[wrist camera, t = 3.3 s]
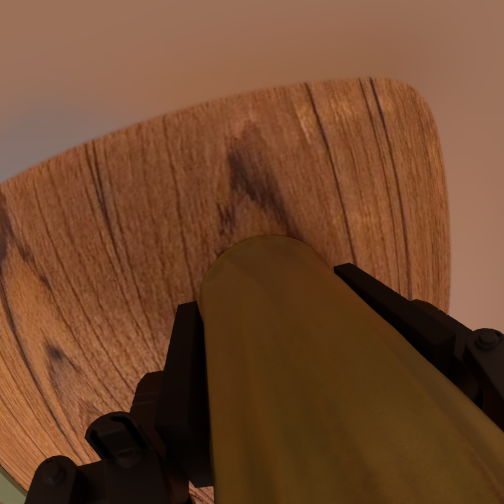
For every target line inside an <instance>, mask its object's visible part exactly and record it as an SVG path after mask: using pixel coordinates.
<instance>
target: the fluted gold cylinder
mask: <svg viewBox="0 0 504 504" xmlns="http://www.w3.org/2000/svg"><path fill="white" fill-rule="evenodd" d="M199 311H200V314H201V318H202V321H203V328H204V343H205V401H206V414H207V430H208V442H209V454H210V463H211V472H212V479H213V489H214V504H504V432H503V431H502V430H501V429H500V428H499V427H498V426H497V425H496V424H495V423H494V422H493V421H492V420H491V419H490V418H489V417H488V416H487V415H486V414H485V413H484V412H483V411H482V410H481V409H480V408H479V407H478V406H477V405H476V404H474V403H473V402H472V401H471V400H470V399H469V398H468V397H467V396H466V395H465V394H464V393H463V392H462V391H461V390H460V389H459V388H457V387H456V386H455V385H454V384H453V383H452V382H451V381H450V380H449V379H448V378H447V377H445V376H444V375H443V374H442V373H441V372H440V371H439V370H438V369H436V368H435V367H434V366H433V365H432V364H431V363H430V362H429V361H427V360H426V359H425V358H424V357H423V356H422V355H421V354H420V353H419V352H418V351H417V350H416V349H415V348H414V347H413V346H412V345H411V344H410V343H409V342H408V341H407V340H406V339H405V338H404V337H403V336H402V335H401V334H400V333H399V332H398V331H397V330H396V329H395V328H394V327H392V326H391V325H390V324H389V323H388V322H387V321H385V320H384V319H383V318H382V317H381V316H380V315H379V314H377V313H376V312H375V311H374V310H373V309H372V308H371V307H370V306H369V305H368V304H367V303H366V302H364V301H363V300H362V299H361V298H360V297H359V296H358V295H357V294H356V293H355V292H354V291H353V290H352V289H351V288H350V287H349V286H348V285H347V284H346V283H345V282H344V281H343V280H342V279H340V278H339V277H338V276H337V275H336V274H335V273H334V272H333V271H332V270H330V269H329V267H328V265H327V264H326V262H325V261H324V260H323V258H322V257H321V256H320V255H319V254H318V253H317V252H316V251H315V250H314V249H313V248H311V247H310V246H308V245H307V244H305V243H303V242H301V241H299V240H297V239H294V238H291V237H286V236H280V235H263V236H257V237H253V238H250V239H247V240H244V241H242V242H240V243H238V244H236V245H234V246H232V247H230V248H229V249H228V250H226V251H225V252H224V253H223V254H222V255H220V256H219V257H218V258H217V259H216V261H215V262H214V263H213V264H212V266H211V267H210V268H209V270H208V272H207V273H206V275H205V277H204V279H203V281H202V284H201V287H200V294H199Z"/></svg>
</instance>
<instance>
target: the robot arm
mask: <svg viewBox="0 0 504 504" xmlns="http://www.w3.org/2000/svg"><path fill="white" fill-rule="evenodd" d="M333 268H334V273H335V274H336V275H337V276H338V277H339V278H340V279H342V280H343V281H344V282H345V283H346V284H347V285H348V286H349V287H350V288H351V289H352V290H353V291H354V292H355V293H356V294H357V295H358V296H359V297H360V298H361V299H362V300H363V301H364V302H366V303H367V304H368V305H369V306H370V307H371V308H372V309H373V310H374V311H375V312H376V313H377V314H379V315H380V316H381V317H382V318H383V319H384V320H385V321H387V322H388V323H389V324H390V325H391V326H392V327H394V328H395V329H396V330H397V331H398V332H399V333H400V334H401V335H402V336H403V337H404V338H405V339H406V340H407V341H408V342H409V343H410V344H411V345H412V346H413V347H414V348H415V349H416V350H417V351H418V352H419V353H420V354H421V355H422V356H423V357H424V358H425V359H426V360H427V361H429V362H430V363H431V364H432V365H433V366H434V367H435V368H436V369H438V370H439V371H440V372H441V373H442V374H443V375H444V376H445V377H447V378H448V379H449V380H450V381H451V382H452V383H453V384H454V385H455V386H456V387H457V388H459V389H460V390H461V391H462V392H463V393H464V394H465V395H466V396H467V397H468V398H469V399H470V400H471V401H472V402H473V403H474V404H476V405H477V406H478V407H479V408H480V409H481V410H482V411H483V412H484V413H485V414H486V415H487V416H488V417H489V418H490V419H491V420H492V421H493V422H494V423H495V424H496V425H497V426H498V427H499V428H500V429H501V430H502V431H503V432H504V334H502V333H501V332H500V331H497V330H494V329H488V328H482V329H477V330H475V331H472V330H470V329H469V328H467V327H466V326H464V325H463V324H461V323H460V322H458V321H457V320H455V319H454V318H452V317H450V316H449V315H446V313H444V312H443V311H441V310H439V309H438V308H436V307H435V306H433V305H432V304H430V303H428V302H424V301H421V300H417V299H415V300H413V301H409V300H407V299H406V298H404V297H403V296H401V295H400V294H398V293H397V292H395V291H394V290H392V289H390V288H389V287H387V286H386V285H384V284H383V283H381V282H380V281H378V280H377V279H375V278H374V277H372V276H370V275H369V274H367V273H366V272H364V271H363V270H361V269H359V268H358V267H356V266H355V265H353V264H352V263H350V262H349V263H346V264H342V265H338V266H335V267H333ZM132 405H133V406H131V409H130V413H128V412H122V411H118V412H111V413H108V414H105V415H103V416H100V417H99V418H98V419H96V420H95V421H94V422H92V424H91V425H90V426H89V427H88V429H87V431H86V434H85V439H86V440H87V442H88V443H89V444H90V446H91V447H92V448H93V449H94V451H95V452H96V453H97V454H98V456H99V457H100V458H101V459H102V460H100V461H98V462H94V463H90V464H86V465H81V466H77V465H76V464H75V463H74V462H73V461H72V460H71V459H70V458H68V457H66V456H62V455H58V456H52V457H50V458H48V459H46V460H44V461H43V462H42V463H41V464H40V465H39V466H38V468H37V470H36V471H35V474H34V477H33V479H32V482H31V485H30V488H29V491H28V494H27V497H26V500H25V503H24V504H196V502H195V500H194V499H193V497H192V496H191V494H190V493H189V480H190V481H191V483H192V484H193V485H194V487H195V488H200V487H209V486H213V479H212V472H211V463H210V454H209V442H208V430H207V414H206V401H205V343H204V328H203V321H202V318H201V314H200V311H199V308H198V304H197V301H193V302H189V303H184V304H180V305H178V308H177V312H176V316H175V321H174V325H173V329H172V334H171V339H170V343H169V348H168V353H167V357H166V362H165V367H164V370H163V371H157V372H150V373H146V374H145V375H144V377H143V378H142V379H141V380H140V382H139V383H138V385H137V388H136V392H135V397H134V399H133V402H132Z"/></svg>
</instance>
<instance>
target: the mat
mask: <svg viewBox="0 0 504 504" xmlns="http://www.w3.org/2000/svg"><path fill="white" fill-rule="evenodd" d="M27 494H28V493H27V492H26V491H25V490H24V489H23V488H22V487H21V486H20V485H19V484H18V483H17V482H16V481H15V480H14V479H13V478H12V477H11V476H10V475H9V474H8V473H7V472H6V471H5V470H4V469H3V468H2V467H1V466H0V502H1V503H3V504H24V503H25V500H26V497H27Z"/></svg>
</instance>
